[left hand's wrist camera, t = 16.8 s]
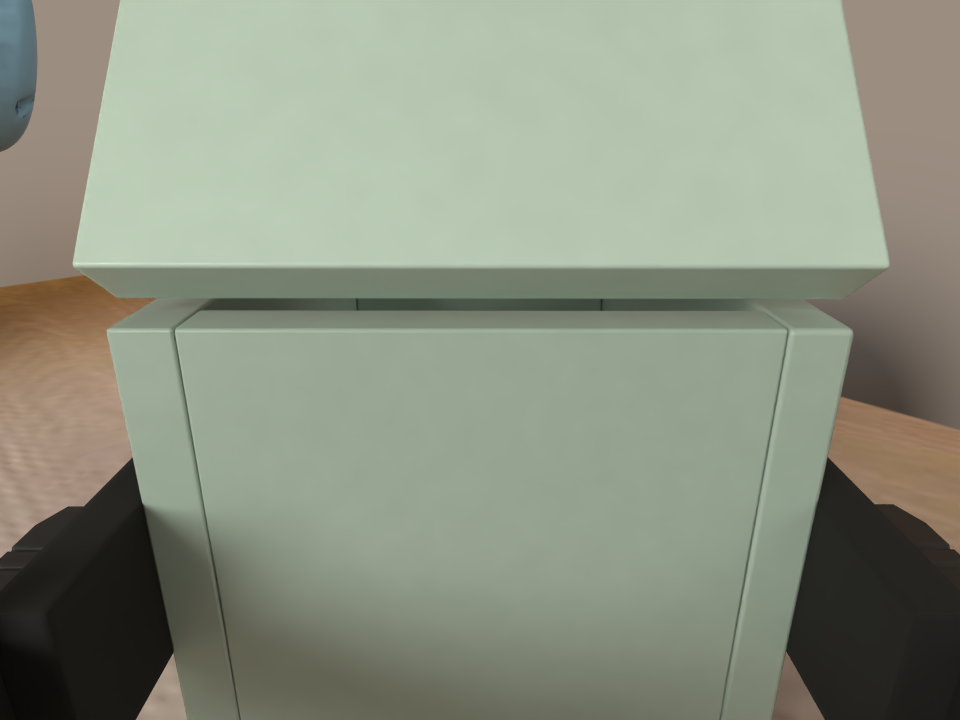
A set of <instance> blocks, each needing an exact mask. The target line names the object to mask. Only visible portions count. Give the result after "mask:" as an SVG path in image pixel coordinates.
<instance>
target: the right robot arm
mask: <svg viewBox="0 0 960 720" xmlns="http://www.w3.org/2000/svg"><path fill="white" fill-rule="evenodd" d="M36 80H37V40H36V27H35V18H34V11H33V4H32V0H0V152H1V151H4V150H6V149H8V148H10V147H11V146H13V145H14V144H15V143H16V142H17V141H18V140H19V139H20V138H21V136H22V135H23V134H24V132H25V130H26V128H27V126H28V123H29V120H30V117H31V114H32V110H33V105H34V98H35V92H36Z"/></svg>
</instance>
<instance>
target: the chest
mask: <svg viewBox="0 0 960 720" xmlns="http://www.w3.org/2000/svg"><path fill="white" fill-rule="evenodd" d="M107 336H108V341H109V346H110V351H111V355H112V360H113V365H114V370H115V375H116V379H117V384H118V389H119V394H120V399H121V403H122V408H123V413H124V418H125V423H126V427H127V432H128V437H129V442H130V447H131V451H132V456H133V461H134V466H135V470H136V475H137V480H138V485H139V490H140V494H141V499H142V504H143V509H144V514H145V518H146V523H147V528H148V533H149V538H150V542H151V547H152V552H153V557H154V562H155V566H156V571H157V576H158V581H159V585H160V590H161V595H162V600H163V605H164V609H165V614H166V619H167V624H168V629H169V633H170V638H171V643H172V648H173V653H174V657H175V662H176V667H177V672H178V676H179V681H180V686H181V691H182V696H183V700H184V705H185V710H186V715H187V720H772V715H773V710H774V706H775V701H776V696H777V692H778V687H779V682H780V678H781V673H782V668H783V664H784V659H785V654H786V649H787V644H788V639H789V635H790V630H791V625H792V620H793V616H794V611H795V606H796V601H797V597H798V592H799V587H800V583H801V578H802V573H803V568H804V564H805V559H806V554H807V549H808V545H809V540H810V535H811V531H812V526H813V521H814V516H815V512H816V507H817V502H818V500H819V495H820V490H821V486H822V481H823V476H824V471H825V467H826V462H827V457H828V453H829V448H830V443H831V439H832V434H833V429H834V425H835V420H836V415H837V411H838V406H839V401H840V397H841V392H842V387H843V382H844V378H845V373H846V368H847V364H848V359H849V354H850V350H851V345H852V340H853V331H852V329H851V328H849V327H847V326H846V325H844V324H842V323H841V322H839V321H837V320H836V319H834V318H832V317H831V316H829V315H827V314H826V313H824V312H822V311H821V310H819V309H817V308H815V307H814V306H812V305H811V304H809V303H807V302H806V301H804V300H802V299H544V298H158V299H156V300H154V301H153V302H151V303H149V304H148V305H146V306H144V307H143V308H141V309H139V310H138V311H136V312H134V313H133V314H131V315H129V316H128V317H126V318H124V319H123V320H121V321H120V322H118V323H116V324H115V325H113V326H111V327H110V328H108V329H107Z"/></svg>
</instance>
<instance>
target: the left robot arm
mask: <svg viewBox="0 0 960 720" xmlns="http://www.w3.org/2000/svg"><path fill="white" fill-rule="evenodd" d="M786 651H787V653H788V655H789V657H790V658H791V660H792V662H793V664H794V665H795V667H796V669H797V671H798V673H799V674H800V676H801V678H802V680H803V681H804V683H805V685H806V687H807V689H808V690H809V692H810V694H811V696H812V697H813V699H814V701H815V703H816V705H817V706H818V708H819V710H820V712H821V713H822V715H823V717H824V719H825V720H960V555H959V554H958V553H957V552H956V551H955V550H950V548H949V544H948V543H947V542H946V541H944V540H943V539H942V538H941V537H940V536H939V535H938V534H937V533H936V532H935V531H934V530H933V529H932V528H931V527H929V526H928V525H927V524H926V523H925V522H923V521H921V520H919V519H918V518H916V517H914V516H912V515H911V514H909V513H907V512H905V511H904V510H902V509H900V508H898V507H897V506H895V505H893V504H874V503H873V502H872V501H871V500H870V499H869V498H868V497H867V496H866V495H865V494H864V493H863V492H862V491H861V490H860V489H859V488H858V487H857V486H856V485H855V484H854V483H853V482H852V481H851V480H850V479H849V478H848V477H847V476H846V475H845V474H844V473H843V472H842V471H841V470H840V469H839V468H838V467H837V466H836V465H835V464H834V463H833V462H832V461H831V460H830V459H829V458H828V457H827V462H826V467H825V471H824V476H823V481H822V486H821V490H820V495H819V500H818V502H817V507H816V512H815V516H814V521H813V526H812V531H811V535H810V540H809V545H808V549H807V554H806V559H805V564H804V568H803V573H802V578H801V583H800V587H799V592H798V597H797V601H796V606H795V611H794V616H793V620H792V625H791V630H790V635H789V639H788V644H787V649H786ZM172 654H173V648H172V643H171V638H170V633H169V629H168V624H167V619H166V614H165V609H164V605H163V600H162V595H161V590H160V585H159V581H158V576H157V571H156V566H155V562H154V557H153V552H152V547H151V542H150V538H149V533H148V528H147V523H146V518H145V514H144V509H143V504H142V499H141V494H140V490H139V485H138V480H137V475H136V470H135V466H134V461H133V458H132V459H131V460H130V461H129V462H128V463H127V464H126V465H125V466H124V467H123V468H122V469H121V470H120V471H119V472H118V473H117V474H116V475H115V476H114V477H113V478H112V479H111V480H110V481H109V482H108V483H107V484H106V485H105V486H104V487H103V488H102V489H101V490H100V491H99V492H98V493H97V494H96V495H95V496H94V497H93V498H92V499H91V500H90V501H89V502H88V503H87V504H86V505H85V506H84V507H67V508H65V509H63V510H61V511H60V512H58V513H56V514H54V515H53V516H51V517H49V518H47V519H46V520H44V521H42V522H40V523H39V524H37V525H35V526H34V527H33V528H32V529H31V530H30V531H29V532H28V533H27V534H26V535H25V536H24V537H23V538H21V539H20V540H19V541H18V542H17V543H16V544H15V545H14V546H13V547H12V551H11V552H7V553H6V554H4V555H3V556H2V557H1V558H0V720H136V718H137V716H138V715H139V713H140V711H141V709H142V707H143V706H144V704H145V702H146V700H147V699H148V697H149V695H150V693H151V691H152V690H153V688H154V686H155V684H156V683H157V681H158V679H159V677H160V675H161V674H162V672H163V670H164V668H165V667H166V665H167V663H168V661H169V659H170V658H171V656H172Z"/></svg>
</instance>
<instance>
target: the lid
mask: <svg viewBox="0 0 960 720" xmlns="http://www.w3.org/2000/svg"><path fill="white" fill-rule="evenodd" d="M73 266H74V268H76V269H77V270H78V271H80V272H81V273H83V274H84V275H86V276H87V277H88V278H90V279H91V280H93V281H94V282H96V283H97V284H98V285H100V286H101V287H103V288H104V289H106V290H107V291H108V292H110V293H111V294H113V295H114V296H116V297H118V298H544V299H844V298H846V297H848V296H849V295H850V294H852V293H853V292H855V291H856V290H858V289H859V288H861V287H862V286H864V285H865V284H867V283H868V282H869V281H871V280H872V279H874V278H875V277H877V276H878V275H880V274H881V273H883V272H884V271H886V270H887V269H888V268H889V266H890V261H889V255H888V250H887V244H886V239H885V234H884V228H883V223H882V217H881V212H880V206H879V201H878V196H877V190H876V185H875V179H874V174H873V168H872V163H871V158H870V152H869V147H868V141H867V136H866V130H865V125H864V119H863V114H862V109H861V103H860V98H859V92H858V87H857V81H856V76H855V70H854V65H853V60H852V54H851V49H850V43H849V38H848V32H847V27H846V22H845V16H844V11H843V5H842V0H120V5H119V11H118V16H117V22H116V27H115V33H114V38H113V44H112V49H111V55H110V60H109V66H108V71H107V77H106V82H105V88H104V93H103V99H102V104H101V110H100V115H99V121H98V126H97V132H96V137H95V143H94V148H93V154H92V159H91V165H90V170H89V176H88V181H87V186H86V192H85V198H84V203H83V208H82V214H81V219H80V225H79V230H78V236H77V241H76V247H75V252H74V258H73Z"/></svg>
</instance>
